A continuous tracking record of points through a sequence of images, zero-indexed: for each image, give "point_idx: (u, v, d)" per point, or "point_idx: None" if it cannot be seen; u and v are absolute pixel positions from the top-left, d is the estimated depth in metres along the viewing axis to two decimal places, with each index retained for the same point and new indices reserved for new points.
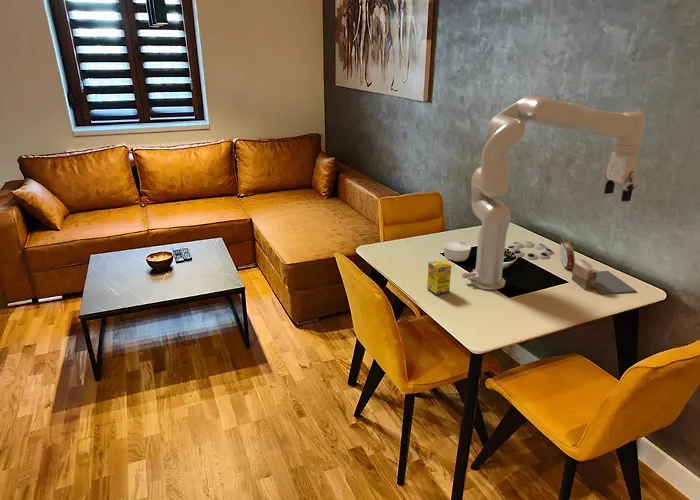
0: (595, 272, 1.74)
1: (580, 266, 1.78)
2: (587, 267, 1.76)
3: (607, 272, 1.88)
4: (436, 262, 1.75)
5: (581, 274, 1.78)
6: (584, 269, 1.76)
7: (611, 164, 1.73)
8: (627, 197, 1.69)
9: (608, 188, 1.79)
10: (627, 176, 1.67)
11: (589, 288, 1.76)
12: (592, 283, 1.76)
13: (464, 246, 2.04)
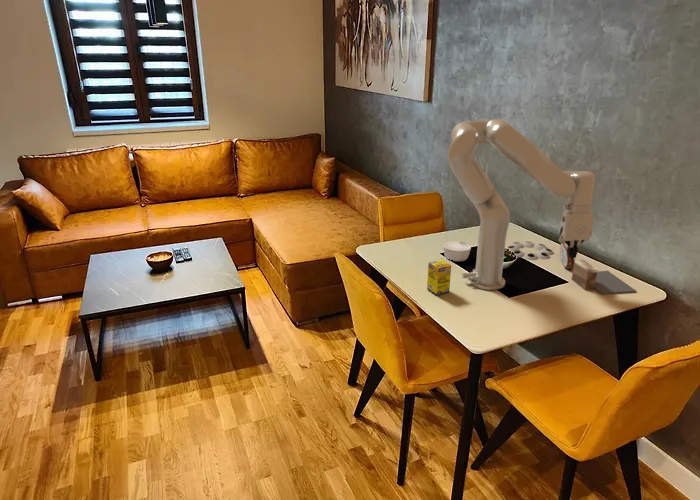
0: (595, 272, 1.74)
1: (580, 266, 1.78)
2: (587, 267, 1.76)
3: (607, 272, 1.88)
4: (436, 262, 1.75)
5: (581, 274, 1.78)
6: (584, 269, 1.76)
7: (573, 226, 1.68)
8: None
9: None
10: None
11: (589, 288, 1.76)
12: (592, 283, 1.76)
13: (464, 246, 2.04)
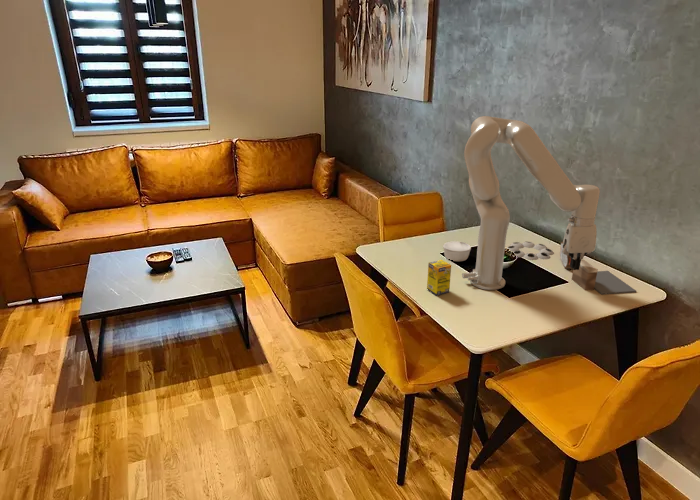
0: (595, 272, 1.74)
1: (580, 266, 1.78)
2: (587, 267, 1.76)
3: (607, 272, 1.88)
4: (436, 262, 1.75)
5: (581, 274, 1.78)
6: (584, 269, 1.76)
7: (577, 239, 1.70)
8: None
9: None
10: None
11: (589, 288, 1.76)
12: (592, 283, 1.76)
13: (464, 246, 2.04)
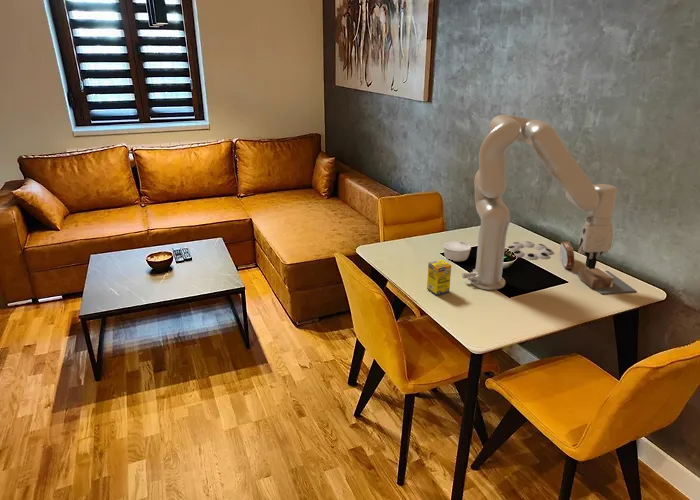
0: (610, 285, 1.77)
1: (604, 272, 1.80)
2: None
3: (607, 272, 1.88)
4: (436, 262, 1.75)
5: (600, 274, 1.79)
6: (608, 275, 1.78)
7: (594, 238, 1.71)
8: None
9: None
10: None
11: (594, 283, 1.76)
12: (598, 285, 1.76)
13: (464, 246, 2.04)
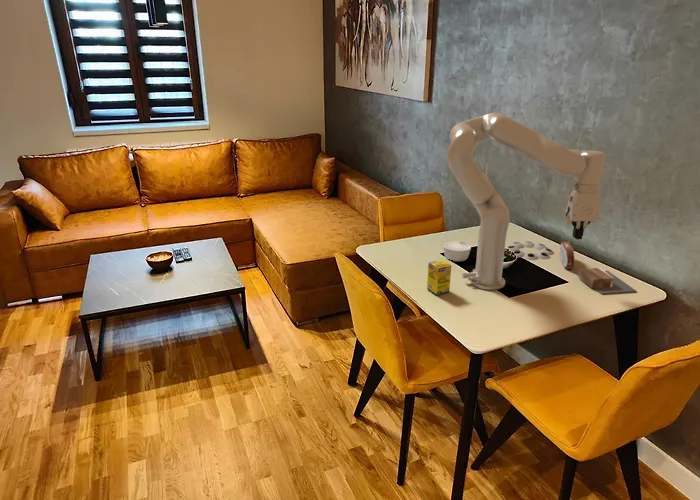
0: (610, 285, 1.77)
1: (604, 272, 1.80)
2: None
3: (607, 272, 1.88)
4: (436, 262, 1.75)
5: (600, 274, 1.79)
6: (608, 275, 1.78)
7: (581, 206, 1.66)
8: None
9: None
10: None
11: (594, 283, 1.76)
12: (598, 285, 1.76)
13: (464, 246, 2.04)
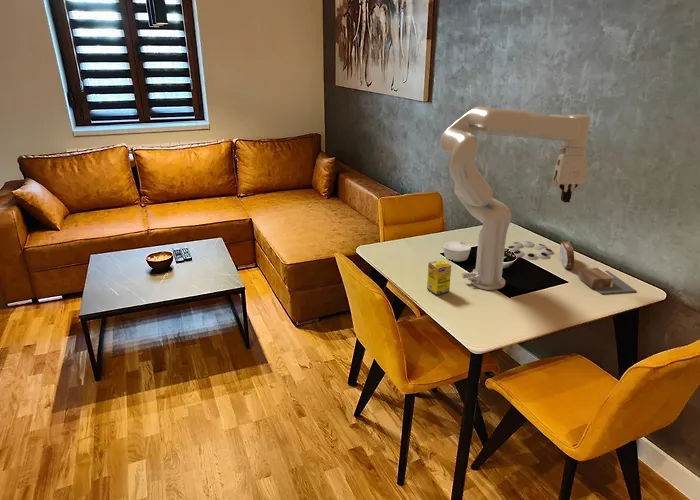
0: (610, 285, 1.77)
1: (604, 272, 1.80)
2: None
3: (607, 272, 1.88)
4: (436, 262, 1.75)
5: (600, 274, 1.79)
6: (608, 275, 1.78)
7: (568, 169, 1.71)
8: None
9: None
10: None
11: (594, 283, 1.76)
12: (598, 285, 1.76)
13: (464, 246, 2.04)
